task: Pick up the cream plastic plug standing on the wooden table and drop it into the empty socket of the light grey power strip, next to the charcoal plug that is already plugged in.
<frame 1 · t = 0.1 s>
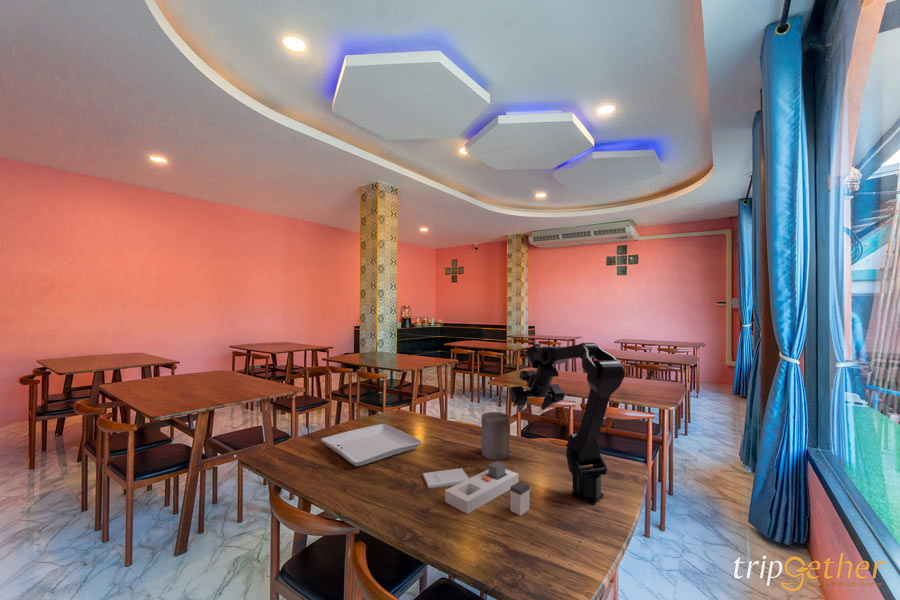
hand: (530, 410, 128), 15 cm above the table, tool tilted 35°, fingers open, 9 cm apart
square plate: (371, 450, 131), on the table
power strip: (483, 492, 100), on the table
external hard drive: (445, 481, 107), on the table
cream plug: (519, 510, 91), on the table
charcoal plug: (496, 485, 104), resting in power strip
pillar candle: (495, 455, 126), on the table
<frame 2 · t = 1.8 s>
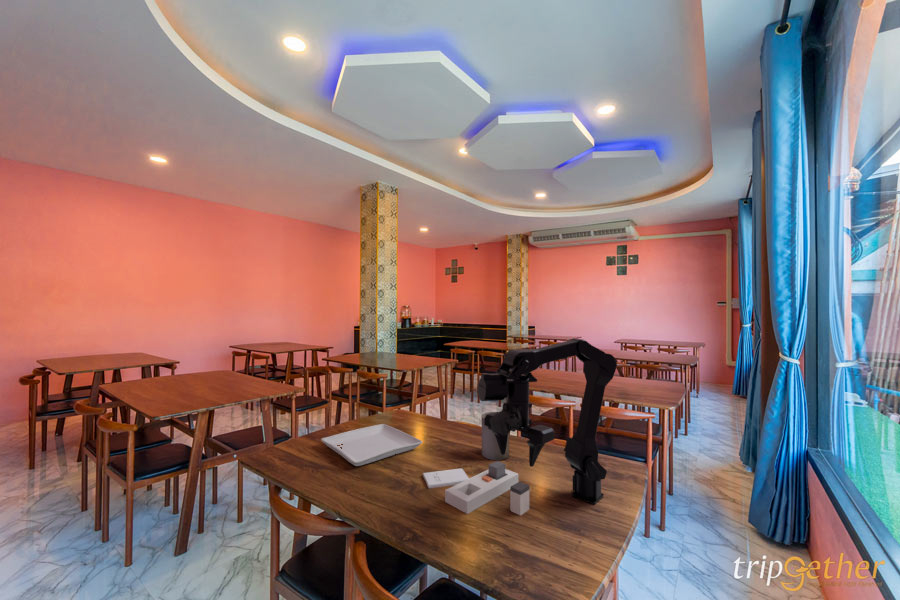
hand: (516, 460, 92), 12 cm above the table, tool pointing down, fingers open, 9 cm apart
nothing on the table moved.
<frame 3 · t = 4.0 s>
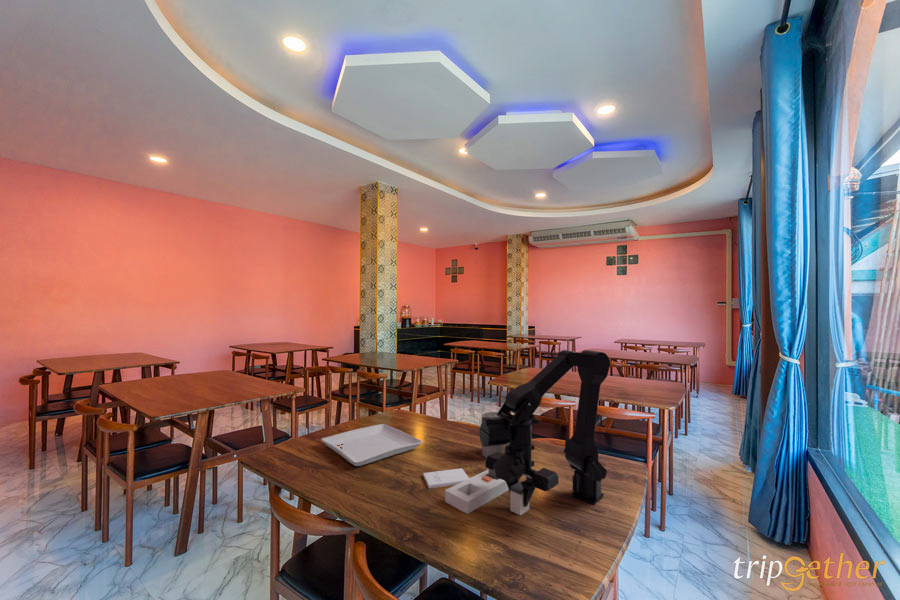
hand: (519, 503, 91), 2 cm above the table, tool pointing down, fingers closed on cream plug, 3 cm apart
cream plug: (519, 509, 91), on the table, touching gripper
everything else where it was.
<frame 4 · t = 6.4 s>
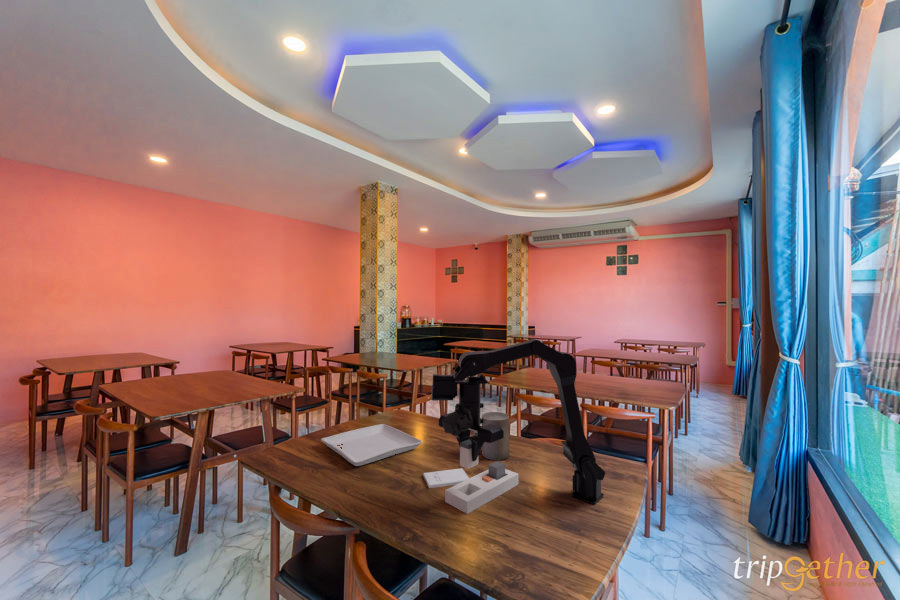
hand: (469, 459, 96), 11 cm above the table, tool pointing down, fingers closed on cream plug, 3 cm apart
cream plug: (469, 464, 95), point 9 cm above the table, touching gripper
everything else where it was.
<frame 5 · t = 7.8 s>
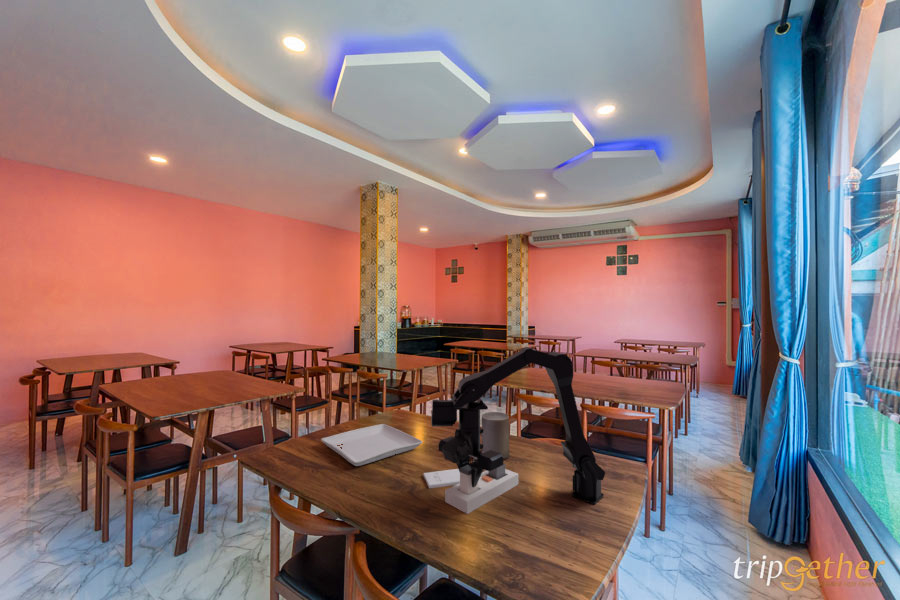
hand: (469, 484, 95), 4 cm above the table, tool pointing down, fingers closed on cream plug, 3 cm apart
cream plug: (469, 490, 95), point 3 cm above the table, touching gripper
everything else where it was.
when the fingers open (3 cm above the table, at t = 8.7 s): cream plug drops 2 cm, resting in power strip.
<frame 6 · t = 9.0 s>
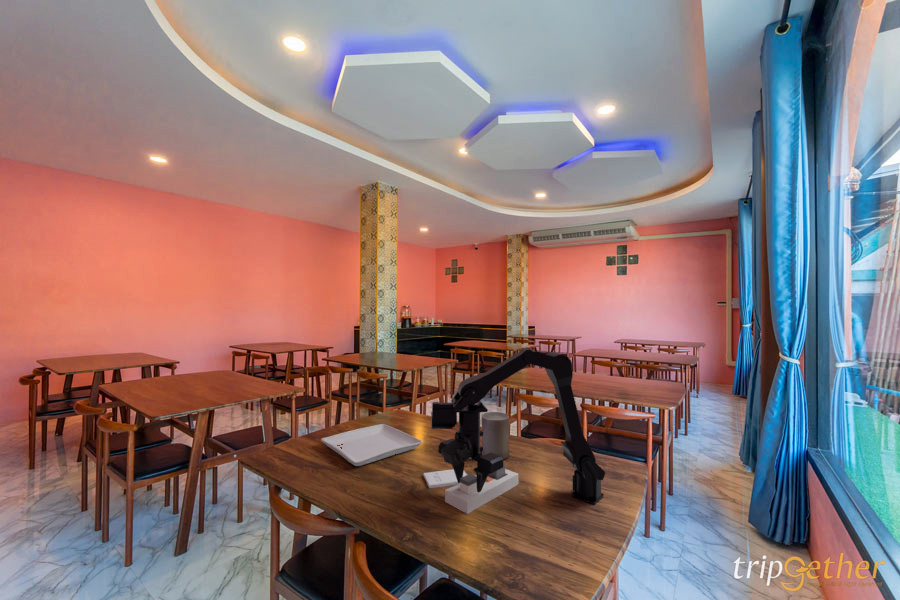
hand: (469, 487, 95), 3 cm above the table, tool pointing down, fingers open, 7 cm apart
cream plug: (469, 500, 95), resting in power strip
everything else where it was.
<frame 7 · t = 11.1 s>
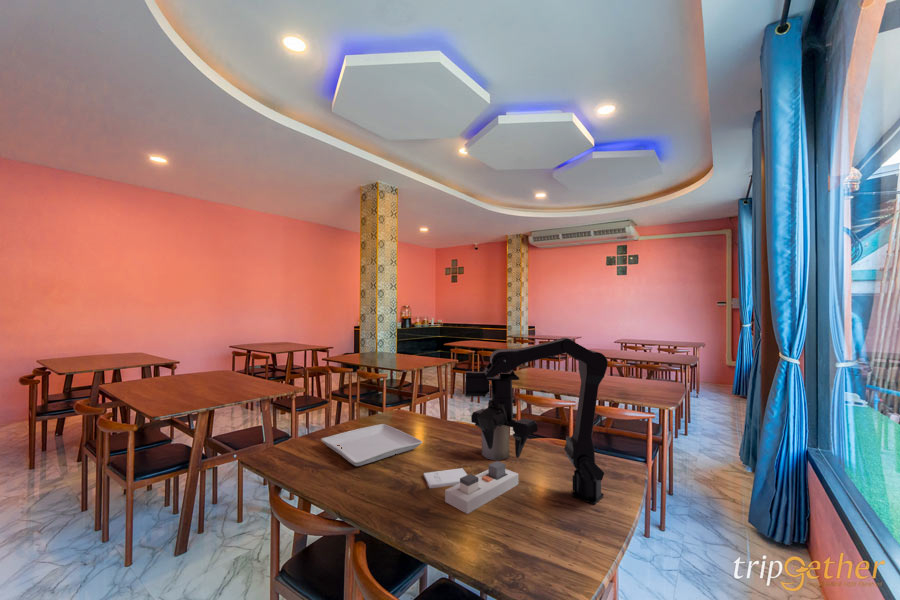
hand: (503, 452, 99), 11 cm above the table, tool pointing down, fingers open, 9 cm apart
nothing on the table moved.
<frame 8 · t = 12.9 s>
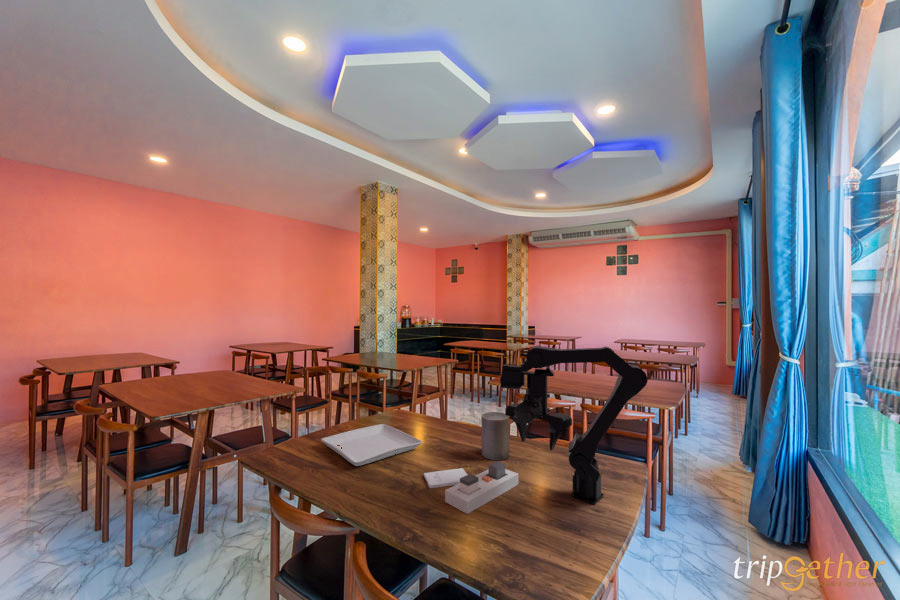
hand: (537, 445, 103), 12 cm above the table, tool pointing down, fingers open, 9 cm apart
nothing on the table moved.
at the end: cream plug 0.1 cm from the target spot on the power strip, point 0.0 cm above the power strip's base; cream plug tilted 0°; the gripper is holding nothing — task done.
